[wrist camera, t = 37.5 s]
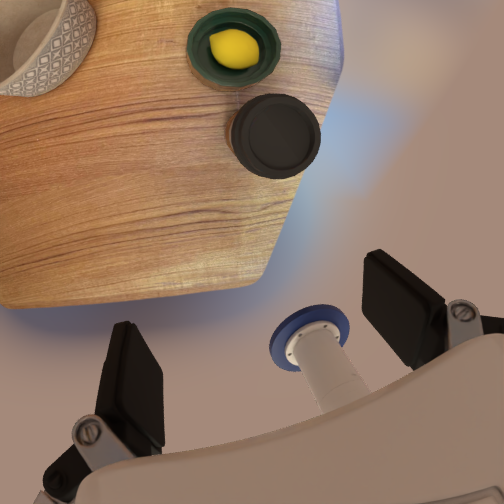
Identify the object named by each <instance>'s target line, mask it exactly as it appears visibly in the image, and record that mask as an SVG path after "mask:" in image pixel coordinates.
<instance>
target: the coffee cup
mask: <svg viewBox="0 0 504 504" xmlns="http://www.w3.org/2000/svg"><path fill="white" fill-rule="evenodd" d="M224 137H225V140H226V143H227V145H228V146H229V148H230V149H231V151H232V152H233V153H234V154H235V156H236V157H237V158H238V160H239V161H240V163H241V164H242V165H243V166H244V167H245V168H246V169H247V170H249V171H250V172H252V173H254V174H256V175H258V176H261V177H266V178H270V179H285V178H289V177H292V176H295V175H297V174H298V173H300V172H301V171H303V170H305V169H306V168H307V167H308V166H309V165H310V164H311V163H312V162H313V160H314V159H315V157H316V155H317V153H318V150H319V147H320V143H321V132H320V128H319V123H318V121H317V119H316V117H315V115H314V114H313V113H312V111H311V110H310V109H309V108H308V107H307V106H306V105H305V104H304V103H303V102H301V101H300V100H298V99H297V98H295V97H292V96H289V95H286V94H274V93H273V94H270V93H269V94H265V95H260V96H257V97H255V98H253V99H252V100H250V101H248V102H247V103H246V104H245V105H244V106H243V107H242V108H241V109H240V110H238V111H237V112H236V113H235V114H234V115H233V116H232V117H231V118H230V119H229V120H228V122H227V124H226V126H225V130H224Z"/></svg>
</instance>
